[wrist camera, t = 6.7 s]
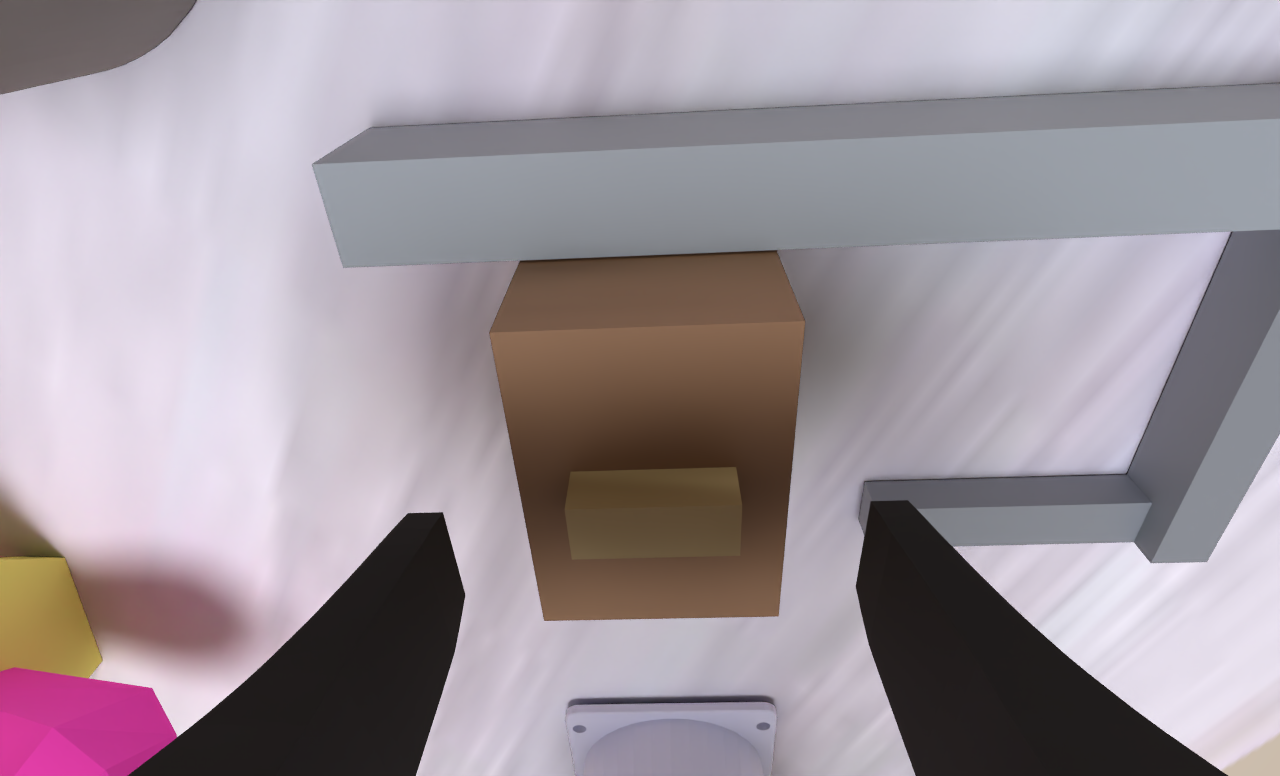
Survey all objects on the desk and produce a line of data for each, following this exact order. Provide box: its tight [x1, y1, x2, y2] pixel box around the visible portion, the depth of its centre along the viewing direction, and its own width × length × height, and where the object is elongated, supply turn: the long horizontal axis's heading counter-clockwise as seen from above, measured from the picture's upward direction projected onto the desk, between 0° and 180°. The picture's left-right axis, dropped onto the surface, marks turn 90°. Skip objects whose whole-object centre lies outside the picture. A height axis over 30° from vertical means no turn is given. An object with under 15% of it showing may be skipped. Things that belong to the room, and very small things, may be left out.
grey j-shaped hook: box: [312, 83, 1280, 563], centre depth 16 cm, size 12×21×3 cm, turn 93°
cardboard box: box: [489, 250, 805, 621], centre depth 15 cm, size 7×5×7 cm
